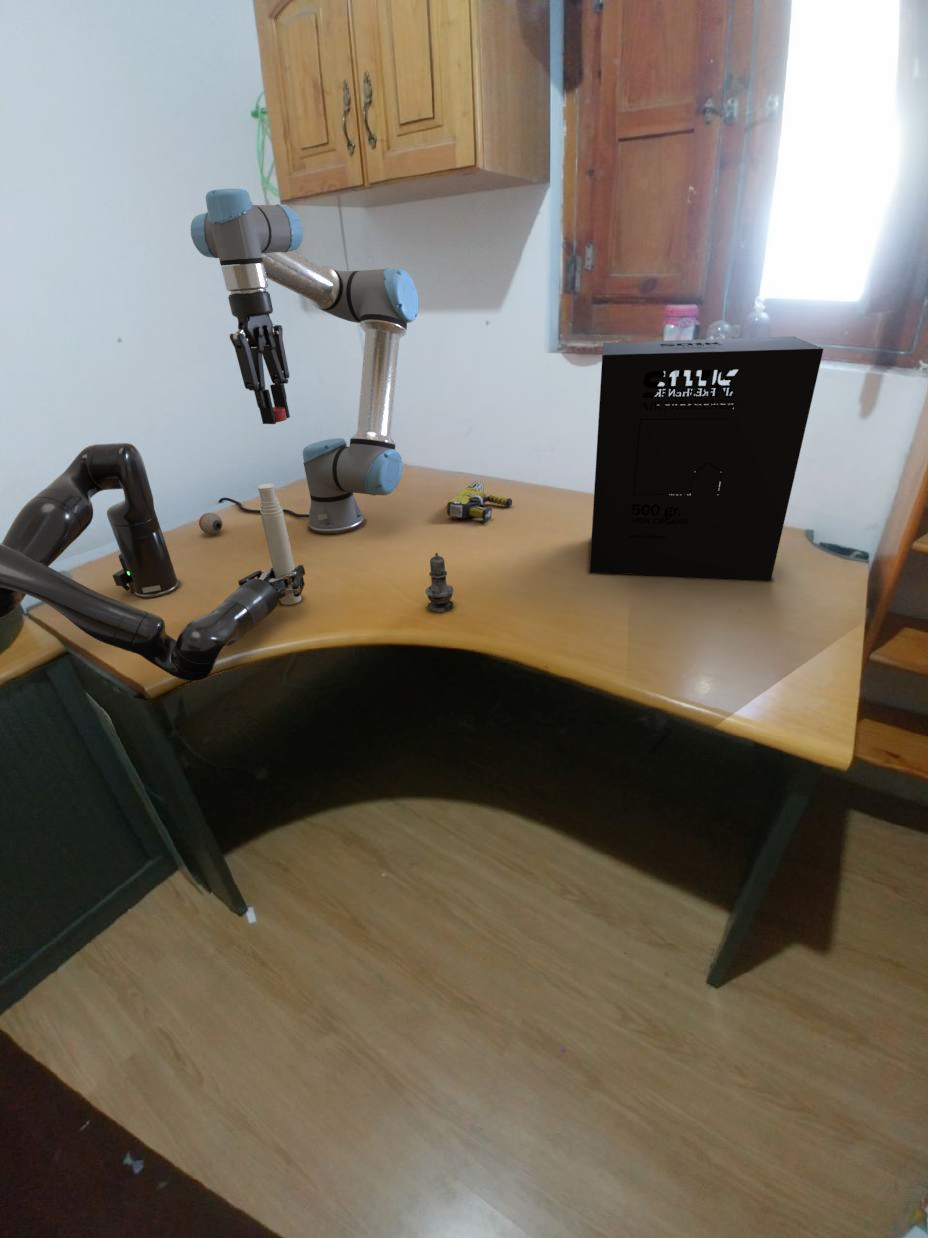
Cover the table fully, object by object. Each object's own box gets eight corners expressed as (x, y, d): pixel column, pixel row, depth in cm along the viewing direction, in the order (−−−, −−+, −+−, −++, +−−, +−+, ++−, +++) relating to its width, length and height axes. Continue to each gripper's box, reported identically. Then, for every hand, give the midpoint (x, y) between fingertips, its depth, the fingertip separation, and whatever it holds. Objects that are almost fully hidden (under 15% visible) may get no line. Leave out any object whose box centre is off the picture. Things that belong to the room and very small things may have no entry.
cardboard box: (751, 542, 144) (793, 336, 122) (770, 580, 127) (823, 348, 105) (591, 537, 152) (603, 342, 130) (589, 572, 135) (602, 354, 112)
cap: (263, 419, 125) (261, 409, 123) (284, 416, 126) (282, 405, 125) (268, 423, 121) (265, 412, 120) (289, 420, 123) (286, 409, 122)
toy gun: (520, 486, 181) (473, 479, 185) (498, 510, 161) (445, 501, 165) (519, 501, 183) (472, 494, 187) (496, 526, 163) (445, 518, 167)
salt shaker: (451, 613, 122) (447, 559, 116) (423, 611, 123) (418, 558, 117) (457, 599, 127) (454, 547, 121) (430, 598, 128) (425, 546, 122)
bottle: (287, 594, 134) (262, 481, 121) (305, 596, 132) (281, 482, 120) (276, 604, 130) (249, 488, 117) (295, 605, 129) (269, 489, 116)
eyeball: (212, 539, 164) (206, 518, 161) (197, 535, 167) (191, 515, 164) (230, 531, 169) (224, 511, 166) (215, 528, 172) (210, 508, 169)
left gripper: (221, 619, 120) (266, 581, 134) (286, 625, 116) (324, 585, 130) (211, 585, 116) (258, 550, 130) (278, 591, 113) (318, 553, 127)
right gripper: (259, 288, 120) (285, 410, 132) (199, 296, 106) (234, 431, 118) (291, 286, 117) (314, 410, 129) (234, 294, 103) (266, 432, 116)
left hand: (291, 568), depth 130 cm, fingers closed on bottle, 4 cm apart
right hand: (276, 420), depth 124 cm, fingers closed on cap, 4 cm apart
